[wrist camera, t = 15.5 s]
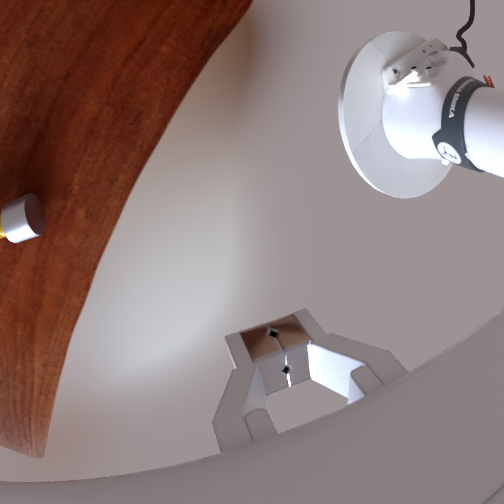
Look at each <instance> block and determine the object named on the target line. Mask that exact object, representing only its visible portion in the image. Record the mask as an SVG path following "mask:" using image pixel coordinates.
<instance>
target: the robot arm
mask: <svg viewBox="0 0 504 504" xmlns="http://www.w3.org/2000/svg"><path fill="white" fill-rule="evenodd" d="M474 15H475V0H470V17H469V20H468V22H467V24H466V25H465V26H463V27H462V28H461V29H460V30H459V31H458V32H457V35H456V37H457V39H458V40H459V41H460V42H461V44H462V47H450V49H448V48H447V46H446V45H445V44H444V43H443V42H441V41H440V40H439V39H437V38H430V39H428V40H426V41H425V42H423V43H421V44H420V45H418V46H416V47H415V48H413V49H412V50H410V51H408V52H407V53H405V54H404V55H402V56H401V57H399V58H397V59H396V60H394V61H393V62H391V63H390V64H388V65H387V66H385V67H384V68H383V69H382V72H381V76H382V83H383V88H384V93H383V100H382V123H383V128H384V131H385V134H386V137H387V139H388V141H389V143H390V144H391V146H392V147H393V148H394V150H395V151H396V152H397V153H399V154H400V155H402V156H403V157H405V158H409V159H422V158H428V159H440V160H443V162H442V163H443V164H446V165H447V164H448V162H451V163H453V164H456V165H458V166H461V167H464V168H467V169H470V170H474V171H477V172H485V171H487V172H490V173H492V174H495V175H498V176H501V177H503V178H504V89H499V88H495V87H494V85H493V83H492V80H491V79H490V76H488V78H489V80H488V79H487V78H486V76H485V75H484V76H483V77H484V79H485V81H486V84H485V83H483V82H481V81H479V80H478V78H477V76H476V74H475V72H474V70H473V68H474V66H475V65H474V64H473V62H472V61H471V59H470V57H469V56H468V54H467V53H466V51H467V45H466V41H465V40H464V39H463V38H462V37H461V35H462V34H463V33H464V32H465V31H466V30H467V29H468V28H469V27H470V26H471V25H472V23H473V20H474ZM394 71H395V73H394ZM489 81H490V82H489ZM225 340H226V343H227V347H228V350H229V353H230V356H231V359H232V362H233V365H234V368H235V369H234V370H232V373H231V375H230V378H229V381H228V383H227V386H226V388H225V391H224V393H223V396H222V398H221V401H220V404H219V406H218V409H217V411H216V414H215V416H214V419H213V421H212V424H213V427H214V431H215V434H216V438H217V441H218V444H219V448H220V451H221V453H219V454H216V455H212V456H209V457H205V458H201V459H197V460H193V461H189V462H185V463H181V464H177V465H173V466H168V467H163V468H158V469H153V470H148V471H143V472H137V473H131V474H125V475H117V476H110V477H102V478H94V479H84V480H72V481H55V482H4V481H0V504H504V307H503V308H502V309H501V310H499V311H498V312H497V313H496V314H494V315H493V316H492V317H490V318H489V319H488V320H487V321H485V322H484V323H482V324H481V325H480V326H479V327H477V328H476V329H474V330H473V331H472V332H470V333H469V334H467V335H466V336H464V337H463V338H462V339H460V340H459V341H457V342H456V343H454V344H453V345H452V346H450V347H449V348H447V349H445V350H444V351H442V352H441V353H439V354H438V355H436V356H435V357H433V358H431V359H430V360H428V361H427V362H425V363H423V364H422V365H420V366H418V367H417V368H415V369H413V370H412V371H410V372H408V371H407V370H406V369H405V368H404V367H403V366H402V365H401V363H400V362H399V361H398V360H397V359H396V358H395V357H394V356H393V355H392V354H391V353H390V351H387V350H384V349H380V348H377V347H374V346H370V345H367V344H364V343H360V342H357V341H354V340H351V339H348V338H344V337H341V336H338V335H335V334H332V333H331V334H328V335H327V333H326V332H325V331H324V330H323V328H322V327H321V326H320V325H319V323H318V322H317V321H316V320H315V318H314V317H313V316H312V315H311V313H310V312H309V311H308V310H307V309H302V310H299V311H297V312H294V313H292V314H290V315H287V316H284V317H282V318H279V319H276V320H273V321H270V322H268V323H265V324H261V325H258V326H255V327H252V328H249V329H246V330H242V331H239V332H237V333H233V334H230V335H227V336H225ZM311 378H312V379H313V380H314V381H317V382H318V383H320V384H322V385H324V386H326V387H328V388H330V389H332V390H334V391H336V392H338V393H340V394H342V395H344V396H346V397H347V398H348V405H346V406H344V407H342V408H340V409H337V410H335V411H333V412H331V413H329V414H326V415H324V416H322V417H320V418H317V419H315V420H312V421H310V422H308V423H305V424H303V425H300V426H298V427H295V428H293V429H290V430H288V431H285V432H282V433H280V434H278V433H277V431H276V429H275V427H274V425H273V423H272V421H271V418H270V416H269V414H268V412H267V410H266V409H264V408H265V404H266V399H267V395H269V394H272V393H275V392H277V391H280V390H282V389H284V388H287V387H289V386H292V385H295V384H298V383H300V382H303V381H306V380H308V379H311Z"/></svg>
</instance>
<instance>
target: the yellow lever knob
mask: <svg viewBox="0 0 504 504" xmlns="http://www.w3.org/2000/svg"><path fill="white" fill-rule="evenodd" d="M45 227H46V215H45V211H44V207H43V205H42V202H41V200H40V199H39V197H38V196H37V195H35V194H34V193H29V194H26V195H24V196H22V197H19V198H17V199H14V200H12V201H10V202H7V203H6V204H5V205H4V206H3V208H2V211H1V216H0V239H1V238H3V237H7V238H8V239H9V240H10V241H11V242H13V243H18V242H21V241H24V240H27V239H30V238H33V237H36V236H39V235H41V234H42V233H43V232H44V230H45Z"/></svg>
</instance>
